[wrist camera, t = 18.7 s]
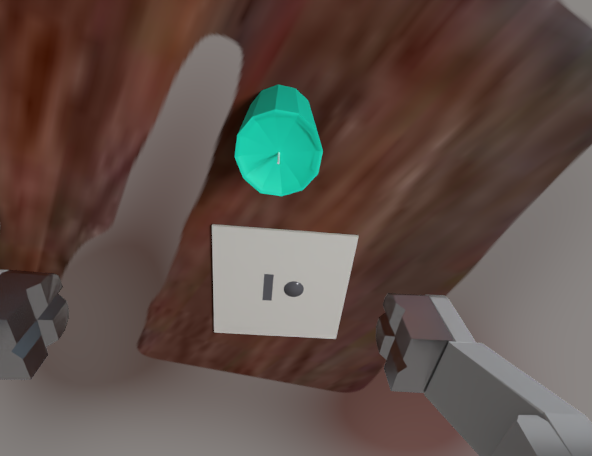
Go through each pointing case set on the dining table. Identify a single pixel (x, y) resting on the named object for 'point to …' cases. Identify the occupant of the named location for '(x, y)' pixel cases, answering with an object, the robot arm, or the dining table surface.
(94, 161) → the dining table surface
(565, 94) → the dining table surface
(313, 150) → the candle
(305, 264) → the tile
